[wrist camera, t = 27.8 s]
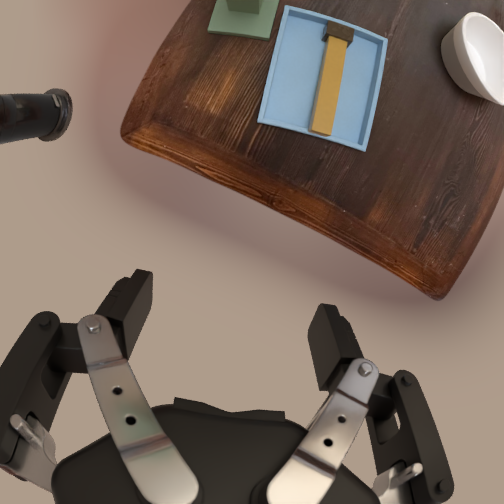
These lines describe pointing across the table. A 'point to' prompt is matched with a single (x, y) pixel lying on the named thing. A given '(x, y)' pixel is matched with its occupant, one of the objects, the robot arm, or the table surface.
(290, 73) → the tray
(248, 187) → the table surface
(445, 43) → the bowl
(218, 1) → the stand
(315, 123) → the brass bolt
